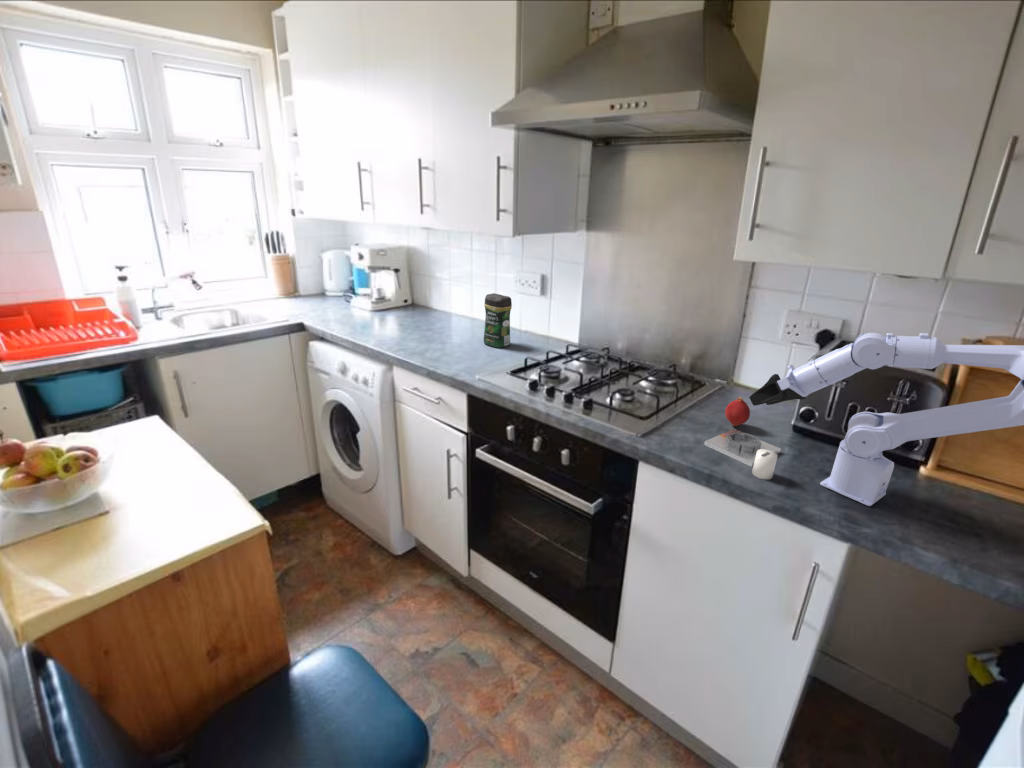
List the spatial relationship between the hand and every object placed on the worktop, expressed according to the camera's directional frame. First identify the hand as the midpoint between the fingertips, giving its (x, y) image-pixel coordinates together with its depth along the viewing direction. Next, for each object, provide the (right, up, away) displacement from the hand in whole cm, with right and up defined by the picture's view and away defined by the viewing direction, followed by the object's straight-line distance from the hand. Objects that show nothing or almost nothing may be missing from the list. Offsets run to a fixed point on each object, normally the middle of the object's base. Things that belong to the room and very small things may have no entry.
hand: (758, 401), depth 112 cm
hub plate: (0, -11, +9) cm, 15 cm away
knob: (0, -16, -1) cm, 16 cm away
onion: (+4, -7, +21) cm, 22 cm away
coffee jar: (-59, +18, +79) cm, 100 cm away
